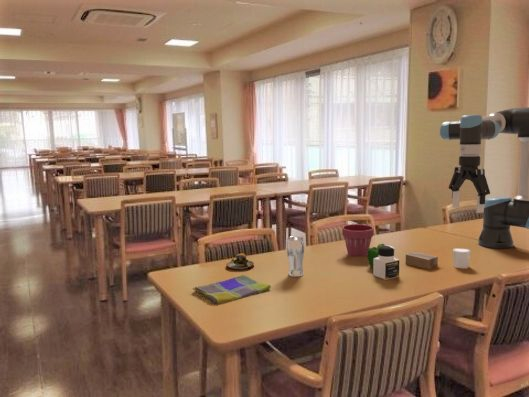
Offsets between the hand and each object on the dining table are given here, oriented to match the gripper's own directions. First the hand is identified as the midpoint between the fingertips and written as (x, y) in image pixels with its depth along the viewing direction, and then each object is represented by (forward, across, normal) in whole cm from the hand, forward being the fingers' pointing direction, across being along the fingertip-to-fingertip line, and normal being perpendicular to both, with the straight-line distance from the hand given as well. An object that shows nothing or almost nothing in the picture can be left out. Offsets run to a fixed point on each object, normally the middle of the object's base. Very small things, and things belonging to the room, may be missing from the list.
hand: (467, 209), depth 178 cm
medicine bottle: (+25, -5, -32) cm, 41 cm away
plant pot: (+25, -38, -28) cm, 53 cm away
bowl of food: (+26, -38, -84) cm, 95 cm away
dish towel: (+26, -10, -93) cm, 97 cm away
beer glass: (+25, -20, -65) cm, 72 cm away
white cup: (+25, -6, +3) cm, 26 cm away
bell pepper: (+25, -17, -29) cm, 42 cm away
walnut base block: (+25, -13, -11) cm, 30 cm away
